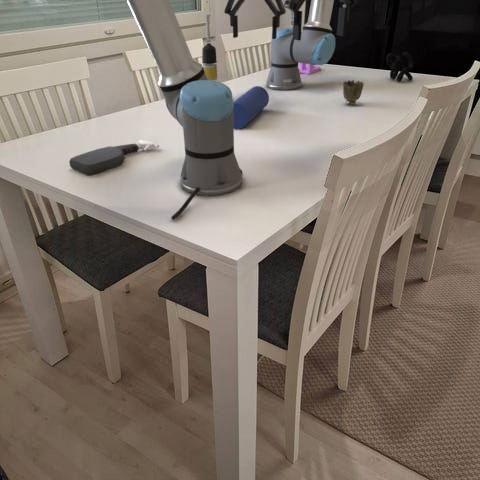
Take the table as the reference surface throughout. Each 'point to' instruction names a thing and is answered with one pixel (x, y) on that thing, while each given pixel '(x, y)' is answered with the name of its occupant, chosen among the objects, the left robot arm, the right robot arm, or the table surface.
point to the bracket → (308, 68)
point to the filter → (209, 56)
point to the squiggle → (399, 66)
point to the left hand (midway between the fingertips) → (319, 37)
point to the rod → (249, 106)
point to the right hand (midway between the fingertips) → (254, 38)
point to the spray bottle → (106, 157)
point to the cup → (352, 91)
